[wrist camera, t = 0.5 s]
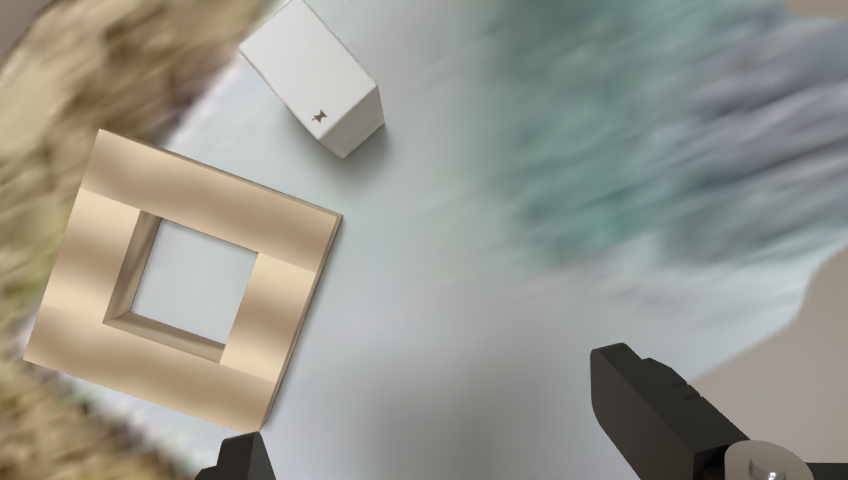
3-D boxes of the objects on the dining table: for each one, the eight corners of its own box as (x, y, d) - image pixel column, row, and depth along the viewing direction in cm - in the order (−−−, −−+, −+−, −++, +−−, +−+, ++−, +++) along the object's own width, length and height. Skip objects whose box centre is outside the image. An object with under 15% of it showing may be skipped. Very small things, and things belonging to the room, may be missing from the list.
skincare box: (387, 121, 37) (382, 87, 25) (342, 160, 37) (317, 145, 25) (330, 56, 37) (298, -11, 25) (285, 95, 37) (231, 48, 25)
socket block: (127, 135, 36) (99, 128, 33) (342, 215, 38) (336, 217, 34) (57, 344, 37) (22, 359, 34) (269, 415, 39) (256, 437, 35)
